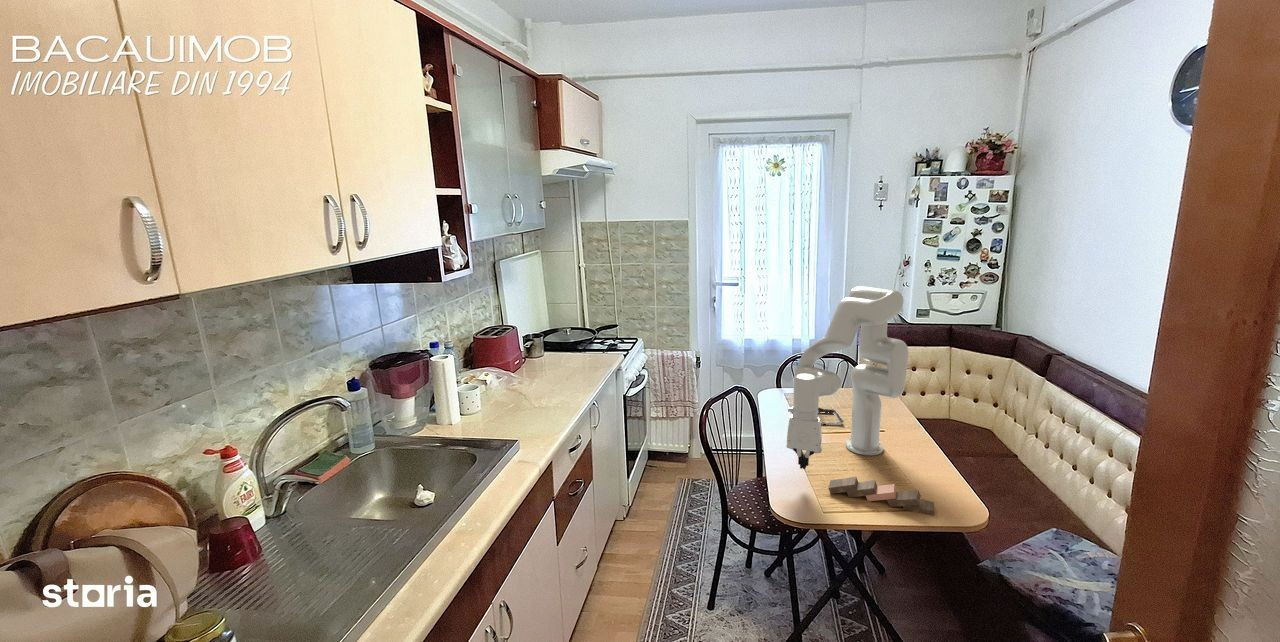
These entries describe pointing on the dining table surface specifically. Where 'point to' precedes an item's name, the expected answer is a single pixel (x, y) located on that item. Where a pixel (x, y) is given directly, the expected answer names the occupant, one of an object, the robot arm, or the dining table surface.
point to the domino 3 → (883, 493)
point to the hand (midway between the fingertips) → (803, 466)
